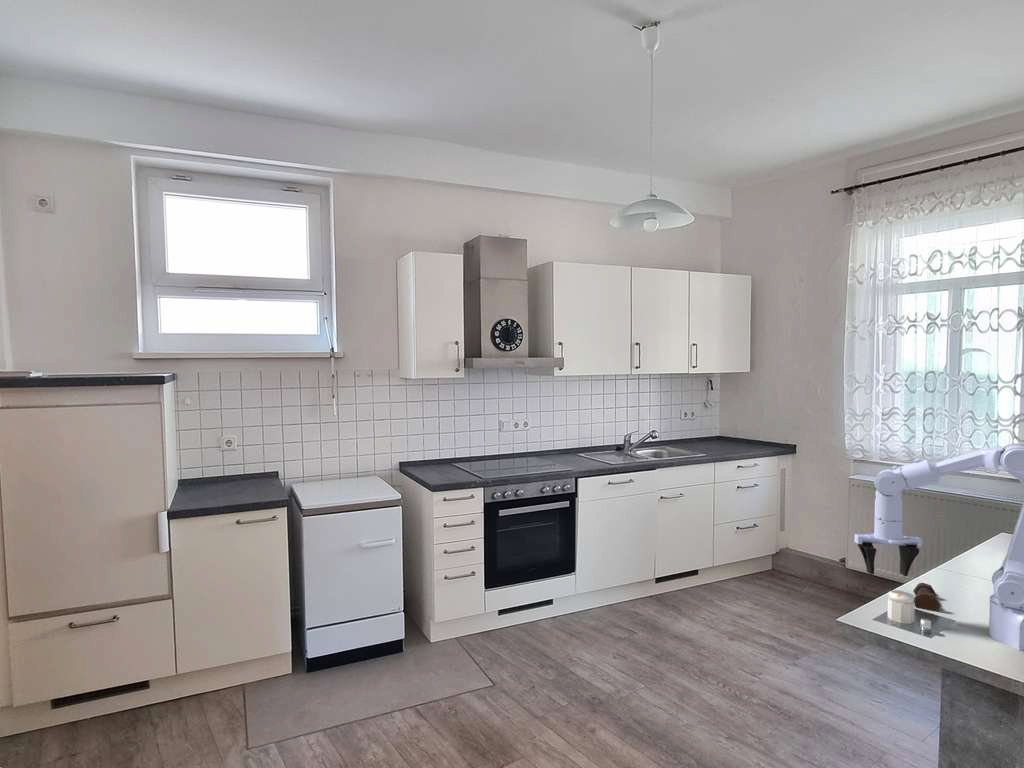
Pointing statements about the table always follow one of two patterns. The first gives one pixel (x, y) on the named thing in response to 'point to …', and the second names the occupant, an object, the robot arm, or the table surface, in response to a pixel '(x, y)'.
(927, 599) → the bolt
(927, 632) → the plate
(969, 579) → the table surface
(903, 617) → the knob
